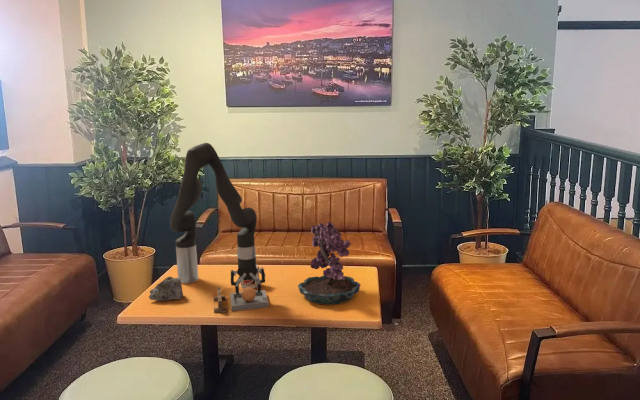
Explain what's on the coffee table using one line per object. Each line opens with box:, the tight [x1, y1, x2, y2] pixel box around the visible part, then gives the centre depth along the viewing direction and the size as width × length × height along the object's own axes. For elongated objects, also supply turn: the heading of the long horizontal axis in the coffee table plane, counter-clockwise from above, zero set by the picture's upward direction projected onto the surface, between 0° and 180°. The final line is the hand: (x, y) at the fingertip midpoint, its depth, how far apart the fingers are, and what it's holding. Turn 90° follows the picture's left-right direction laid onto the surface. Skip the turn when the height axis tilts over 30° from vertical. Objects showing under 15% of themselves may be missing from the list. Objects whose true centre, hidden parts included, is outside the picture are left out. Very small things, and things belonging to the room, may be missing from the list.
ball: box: [241, 287, 256, 302], centre depth 229 cm, size 6×6×6 cm
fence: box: [213, 286, 228, 314], centre depth 227 cm, size 16×5×5 cm, turn 11°
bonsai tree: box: [297, 221, 361, 306], centre depth 234 cm, size 35×27×32 cm
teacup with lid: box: [239, 263, 266, 289], centre depth 248 cm, size 12×9×12 cm
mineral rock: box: [148, 276, 184, 302], centre depth 235 cm, size 13×11×10 cm
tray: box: [229, 289, 270, 312], centre depth 229 cm, size 15×15×2 cm
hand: (248, 293), depth 229 cm, fingers open, 8 cm apart
